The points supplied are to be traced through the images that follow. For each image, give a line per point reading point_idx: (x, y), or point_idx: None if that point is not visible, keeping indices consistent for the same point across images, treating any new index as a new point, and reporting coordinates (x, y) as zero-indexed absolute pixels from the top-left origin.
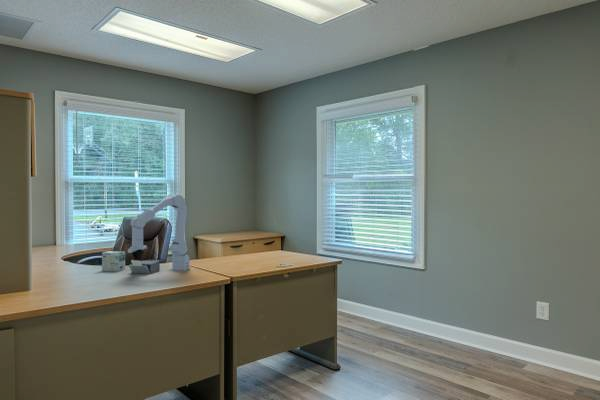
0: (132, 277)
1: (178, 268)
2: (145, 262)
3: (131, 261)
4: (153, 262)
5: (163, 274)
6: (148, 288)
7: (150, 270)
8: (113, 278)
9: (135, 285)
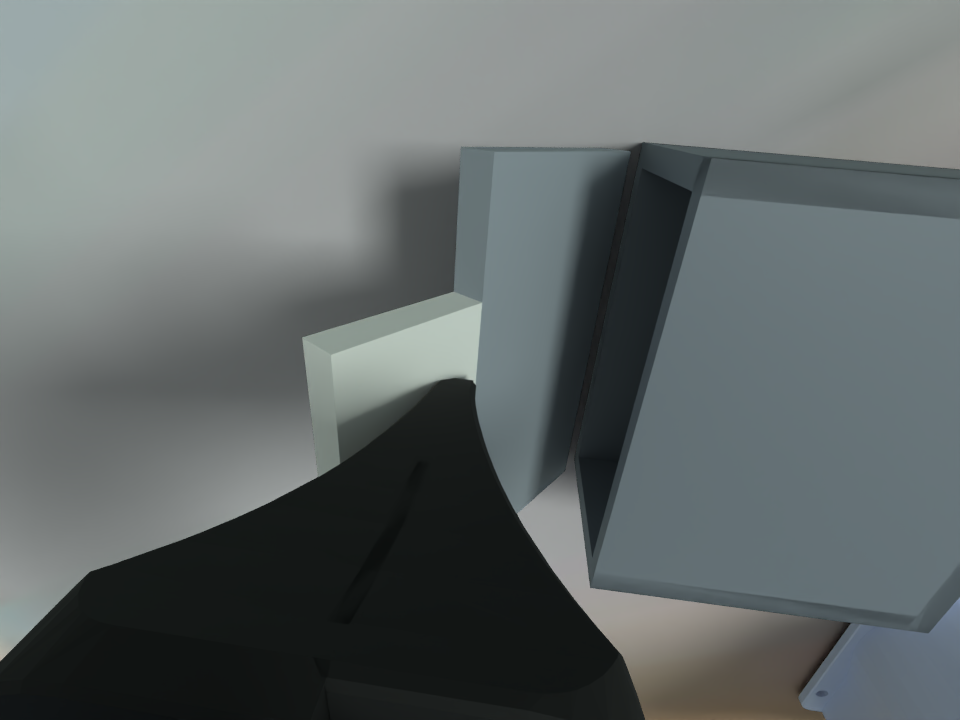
0: (300, 326)
1: (860, 683)
2: (837, 431)
3: (318, 343)
4: (825, 570)
5: (588, 581)
6: (19, 628)
7: (581, 494)
8: (92, 57)
9: (15, 522)
